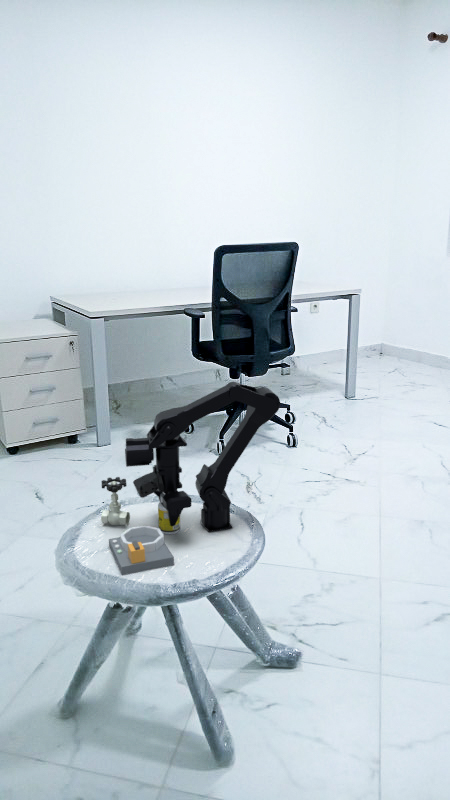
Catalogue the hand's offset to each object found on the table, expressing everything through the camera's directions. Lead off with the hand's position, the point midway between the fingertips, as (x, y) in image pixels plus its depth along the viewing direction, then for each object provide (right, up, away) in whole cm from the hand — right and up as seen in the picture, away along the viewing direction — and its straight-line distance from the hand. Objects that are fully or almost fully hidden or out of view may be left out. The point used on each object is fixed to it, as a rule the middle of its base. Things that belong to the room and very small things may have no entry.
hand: (169, 520), depth 159 cm
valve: (-14, -2, +4) cm, 15 cm away
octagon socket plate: (-6, -6, -12) cm, 14 cm away
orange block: (-6, -5, -17) cm, 19 cm away
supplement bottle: (0, -3, +1) cm, 3 cm away
